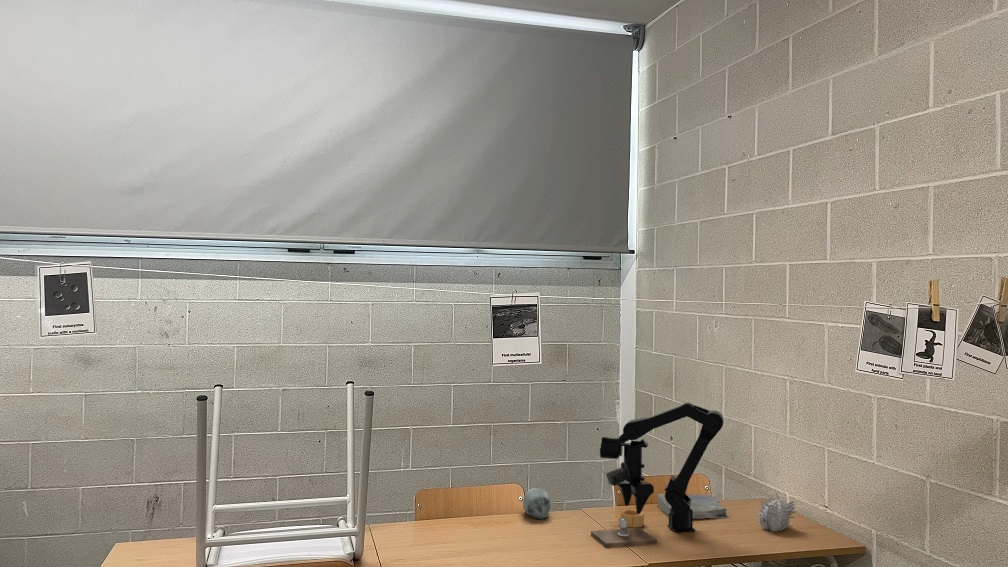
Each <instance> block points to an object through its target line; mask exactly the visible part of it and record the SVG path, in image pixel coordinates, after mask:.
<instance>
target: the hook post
mask: <svg viewBox="0 0 1008 567" xmlns="http://www.w3.org/2000/svg"><path fill="white" fill-rule="evenodd" d="M617 521H618V523H619V529H620V532H618V533H617V535H618V536H619V537H629V536H630V533H628V532H627V529H628V527H627V519H626V518H621V519H620V518H619V519H618V520H617Z"/></svg>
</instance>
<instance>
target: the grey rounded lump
mask: <svg viewBox="0 0 1008 567" xmlns="http://www.w3.org/2000/svg"><path fill="white" fill-rule="evenodd" d="M522 500H523V501H522V507H523V510H524V511H525V513H527V515H529V516H531V517H532V518H535V519H538V520H542V519H546V517H547V516H548V515H549V512H550V511H551V496H550V494H549V493H548V492H547V491H545V490H544V489H541V488H538V487H533V488H531V489H529V490H527V491H526V492H525V494H524V496H523V499H522Z"/></svg>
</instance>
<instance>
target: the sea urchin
mask: <svg viewBox="0 0 1008 567" xmlns="http://www.w3.org/2000/svg"><path fill="white" fill-rule="evenodd" d="M775 496H776V499H775V498H774V495H771V496H770V495H767V497H768V499H769V500H768V501H767V500H765V501H760V503H761V506H760V508H758V510H759V511H760V512H759V513H758V514H756V516H757V517H758V518H757V520H758V523H759V525H760V527H762V529H763V528H764V529H765V530H770V531H771V532H779V531H780V532H781V531H783V530H785V529H787V528H788V527H789V528H790V527H794V526H793V525H791V524H790V523H791V522H790V521H791V519H793V518H796V516H793V514H794V513H797V512H798V510H794V509H795V503H794V502H795V501H794V500H792V501H789V502H788V503H787V502H786V499H784V500H781V499H780V498H781V496H779V495H778V493H777V492H775ZM785 502H786V503H785Z"/></svg>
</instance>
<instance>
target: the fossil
mask: <svg viewBox="0 0 1008 567" xmlns="http://www.w3.org/2000/svg"><path fill="white" fill-rule="evenodd" d="M686 495H687V496H688V497H689V498H690V499H691V500H692V502H691V506H690V508H691V509H692V510H693V519H694V520H695V519H700V520H701V519H702V520H703V519H705V518H718V519H727V518H728V515H727V510H728V509H727V508H726V507H724V506H722V503H721V500H719V499H718V498H717V497H715V496H711V495H709V494H706V493H705V494H703V493H701V494H686ZM656 499H657V504H658V508H659V511H660V512H662V513H664V514H666V515H667V516H668V517H669V513H670V508H671V505H670V504H669V503H667V501H666V499H665V493H657V494H656Z"/></svg>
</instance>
